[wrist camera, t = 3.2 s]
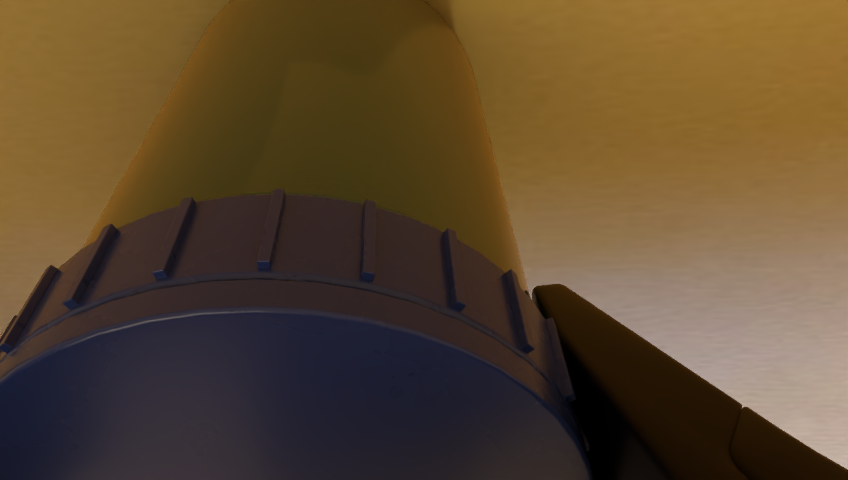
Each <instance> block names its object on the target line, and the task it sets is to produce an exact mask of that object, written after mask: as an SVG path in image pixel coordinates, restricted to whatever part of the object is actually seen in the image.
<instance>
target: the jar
mask: <svg viewBox="0 0 848 480" xmlns="http://www.w3.org/2000/svg"><path fill="white" fill-rule="evenodd" d="M274 189H285V194H294V195H295V194H301V195H311V196H323V197H330V198H335V199H341V200H346V201H352V202H358V203H363V204H364V203H365V200H366V199H367V200H371V201H375V202H376V207H379V208H382V209H385V210H389V211H392V212H396V213H399V214H402V215H406V216H409V217H411V218H414V219H416V220H418V221H421V222H425V223H426V224H428V225H431V226H433V227H435V228H437V229H439V230H442V231H444V232H445V230H446V229H447V228H450V229H452V230H454V231H455V232H456V235H457V239H458V240H460V241H462V242H463V243H465V244H467V245H469V246H470V247H472V248H474V249H475V250H477V251H479V252H480V253H481V254H483V255H484V256H485V257H486V258H488V259H489V260H490V261H492V262H493V263H494V264H495V265H497V266H498V267H499V268H501V269H502V270H503V271H504V272H507V271H509V270H510V269H512V270H513V271H514V272H515V273H516V274H517V277H518V281H519V286H520V288H521V289H522V290H523V291H524V292H525V293H526V294H527V295H528V296H529V297H530V295H529V292H528V288H527V284H526V280H525V276H524V272H523V268H522V264H521V260H520V256H519V252H518V248H517V244H516V240H515V236H514V232H513V228H512V224H511V220H510V216H509V213H508V209H507V205H506V201H505V197H504V193H503V189H502V185H501V181H500V177H499V173H498V169H497V165H496V161H495V157H494V153H493V149H492V145H491V141H490V138H489V134H488V130H487V126H486V122H485V118H484V114H483V110H482V106H481V102H480V98H479V94H478V90H477V86H476V82H475V78H474V75H473V71H472V67H471V64H470V62H469V60H468V57H467V55H466V52H465V50H464V48H463V46H462V45H461V43H460V41H459V40H458V38H457V36H456V35H455V33H454V32H453V31H452V29H451V28H450V27H449V25H448V24H447V23H446V22H445V20H444V19H443V18H442V17H441V16H440V15H439V14H438V13H437V12H436V11H435V10H434V9H433V8H432V7H431V6H430V5H428V4H427V3H426V2H424V1H423V0H231V1H230V2H229V3H228V4H227V5H226V6H225V7H224V8H223V9H222V10H221V11H220V12H219V13H218V14H217V16H216V17H215V18H214V19H213V21H212V22H211V23H210V24H209V26H208V27H207V29H206V31H205V33H204V34H203V36H202V38H201V40H200V41H199V43H198V45H197V47H196V49H195V50H194V52H193V54H192V56H191V57H190V59H189V61H188V63H187V64H186V66H185V68H184V70H183V72H182V73H181V75H180V77H179V79H178V80H177V82H176V84H175V86H174V87H173V89H172V91H171V93H170V95H169V96H168V98H167V100H166V102H165V103H164V105H163V107H162V109H161V110H160V112H159V114H158V116H157V118H156V119H155V121H154V123H153V125H152V126H151V128H150V130H149V132H148V133H147V135H146V137H145V139H144V141H143V142H142V144H141V146H140V148H139V149H138V151H137V153H136V155H135V156H134V158H133V160H132V162H131V164H130V165H129V167H128V169H127V171H126V172H125V174H124V176H123V178H122V179H121V181H120V183H119V185H118V187H117V188H116V190H115V192H114V194H113V195H112V197H111V199H110V201H109V202H108V204H107V206H106V208H105V210H104V211H103V213H102V215H101V217H100V218H99V220H98V222H97V224H96V225H95V227H94V229H93V231H92V233H91V234H90V236H89V238H88V240H87V241H86V243H85V245H84V247H86V246H88V245H89V244H91V243H93V242H94V241H96V240H97V238H98V236H99V235H100V233H101V231H102V229H103V227H105V226H107V225H109V224H113V225H114V226H115V227H116V228H119V227H121V226H124V225H126V224H128V223H131V222H133V221H135V220H138V219H140V218H143V217H145V216H147V215H150V214H152V213H155V212H159V211H162V210H166V209H168V208H173V207H175V206H179V205H180V203H181V201H182V199H184V198H188V197H193V199H194V201H195V202H196V201H202V200H209V199H216V198H222V197H229V196H235V195H257V194H273V190H274ZM84 247H83V248H84ZM83 248H82V249H83Z"/></svg>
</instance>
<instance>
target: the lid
mask: <svg viewBox="0 0 848 480" xmlns="http://www.w3.org/2000/svg"><path fill="white" fill-rule="evenodd" d="M574 400H576V395H575V391H574V388H573V384H572V381H571V377H570V374H569V370H568V367H567V363H566V360H565V356H564V353H563V349H562V346H561V342H560V339H559V335H558V332H557V328H556V325H555V322H554V320H553V318H549V319H546V320H545V319H544V317H543V316H542V314H541V313H540V311H539V310H538V308H537V307H536V305H535V304H534V303H533V301H532V300H531V298H530V297H529V296H528V295H527V294H526V293H525V292H524V291H523V290H522V289H521V288H520V286H519V281H518V277H517V274H516V273H515V272H514V271H513V270H512V269H510V270H509V271H507V272H504V271H503V270H502V269H501V268H499V267H498V266H497V265H495V264H494V263H493V262H492V261H490V260H489V259H488V258H486V257H485V256H484V255H483V254H481V253H480V252H479V251H477V250H475V249H474V248H472V247H470V246H469V245H467V244H465V243H463V242H462V241H460V240H458V239H457V235H456V232H455V231H454V230H452V229H450V228H447V229H446V230H445V232H444V231H442V230H439V229H437V228H435V227H433V226H431V225H428V224H426V223H425V222H421V221H418V220H416V219H414V218H411V217H409V216H406V215H402V214H399V213H396V212H392V211H389V210H385V209H382V208H379V207H376V202H375V201H371V200H367V199H366V200H365V203H364V204H363V203H358V202H352V201H346V200H341V199H335V198H330V197H323V196H311V195H301V194H295V195H294V194H285V189H274V190H273V194H257V195H235V196H229V197H222V198H216V199H209V200H202V201H196V202H195V201H194V199H193V197H188V198H184V199H182V201H181V203H180V205H179V206H175V207H173V208H168V209H166V210H162V211H159V212H155V213H152V214H150V215H147V216H145V217H143V218H140V219H138V220H135V221H133V222H131V223H128V224H126V225H124V226H121V227H119V228H116V227H115V226H114V225H113V224H109V225H107V226H105V227H103V229H102V231H101V233H100V235H99V236H98V238H97V240H96V241H94V242H93V243H91V244H89V245H88V246H86V247H84V248H83V249H81V250H80V251H79V252H78V253H76V254H75V255H74V256H73V257H72V258H70V259H69V260H68V261H67V262H66V263H64V264H63V265H62V266H61V267H60V268H58V269H57V268H55V267H54V266H52V265H50V266H49V267H48V268H47V269H46V270H45V272H44V273H43V275H42V276H41V278H40V280H39V281H38V283H37V285H36V286H35V288H34V290H33V291H32V293H31V294H30V296H29V298H28V299H27V301H26V303H25V304H24V306H23V308H22V309H21V311H20V312H19V314H18V316H17V315H15V316H14V317H13V319H12V321H11V322H10V324H9V325H8V327H7V329H6V330H5V332H4V334H3V335H2V337H1V338H0V480H594V477H593V473H592V469H591V465H590V461H589V457H588V453H587V451H589V443H588V441H587V439H586V437H585V435H584V433H583V430H582V428H581V426H580V424H579V421H578V417H577V414H576V410H575V407H574V403H573V401H574Z"/></svg>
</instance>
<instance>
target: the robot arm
mask: <svg viewBox="0 0 848 480" xmlns="http://www.w3.org/2000/svg"><path fill="white" fill-rule="evenodd" d="M532 301H533V303H534V304H535V305H536V307H537V308H538V310H539V311H540V313H541V314H542V316H543V317H544V319H545V320H546V319H549V318H553V320H554V322H555V325H556V328H557V332H558V335H559V339H560V342H561V346H562V349H563V353H564V356H565V360H566V363H567V367H568V370H569V374H570V377H571V381H572V384H573V388H574V391H575V395H576V400H574V401H573V403H574V407H575V410H576V414H577V417H578V421H579V424H580V426H581V428H582V430H583V433H584V435H585V437H586V439H587V441H588V443H589V451H587V453H588V457H589V461H590V465H591V469H592V473H593V477H594V480H848V470H847V469H846V468H844V467H842V466H840V465H839V464H837V463H835V462H834V461H832V460H830V459H828V458H827V457H825V456H823V455H821V454H820V453H818V452H816V451H815V450H813V449H811V448H810V447H808V446H807V445H805V444H803V443H802V442H800V441H799V440H797V439H796V438H794V437H792V436H791V435H789V434H788V433H786V432H785V431H783V430H781V429H780V428H778V427H777V426H775V425H774V424H772V423H770V422H769V421H767V420H766V419H764V418H763V417H761V416H760V415H758V414H757V413H755V412H754V411H752V410H751V409H749V408H748V407H743V408H742V405H741V404H740V403H739V402H737V401H736V400H734V399H733V398H731V397H730V396H728V395H727V394H725V393H724V392H722V391H721V390H719V389H718V388H716V387H715V386H713V385H712V384H710V383H709V382H707V381H706V380H704V379H703V378H701V377H700V376H698V375H697V374H695V373H694V372H692V371H691V370H689V369H688V368H687V367H685V366H684V365H682V364H681V363H679V362H678V361H676V360H675V359H673V358H672V357H670V356H669V355H667V354H666V353H664V352H663V351H661V350H660V349H658V348H657V347H655V346H654V345H652V344H651V343H649V342H648V341H646V340H645V339H643V338H642V337H640V336H639V335H637V334H636V333H634V332H633V331H631V330H630V329H628V328H627V327H625V326H624V325H622V324H621V323H619V322H618V321H616V320H615V319H613V318H612V317H610V316H609V315H607V314H606V313H604V312H603V311H601V310H600V309H598V308H597V307H595V306H594V305H592V304H591V303H590V302H588V301H587V300H585V299H584V298H582V297H581V296H579V295H578V294H576V293H575V292H573V291H572V290H570V289H569V288H567V287H566V286H564V285H561V284H552V285H541V286H536V287H535V288H534V289H533V292H532Z"/></svg>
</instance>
